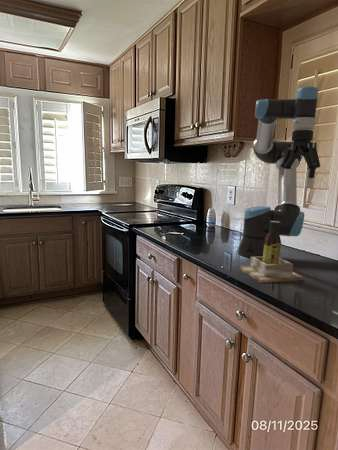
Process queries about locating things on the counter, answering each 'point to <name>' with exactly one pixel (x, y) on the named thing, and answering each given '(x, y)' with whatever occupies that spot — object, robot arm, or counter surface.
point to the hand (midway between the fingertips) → (296, 185)
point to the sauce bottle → (272, 244)
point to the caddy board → (270, 271)
